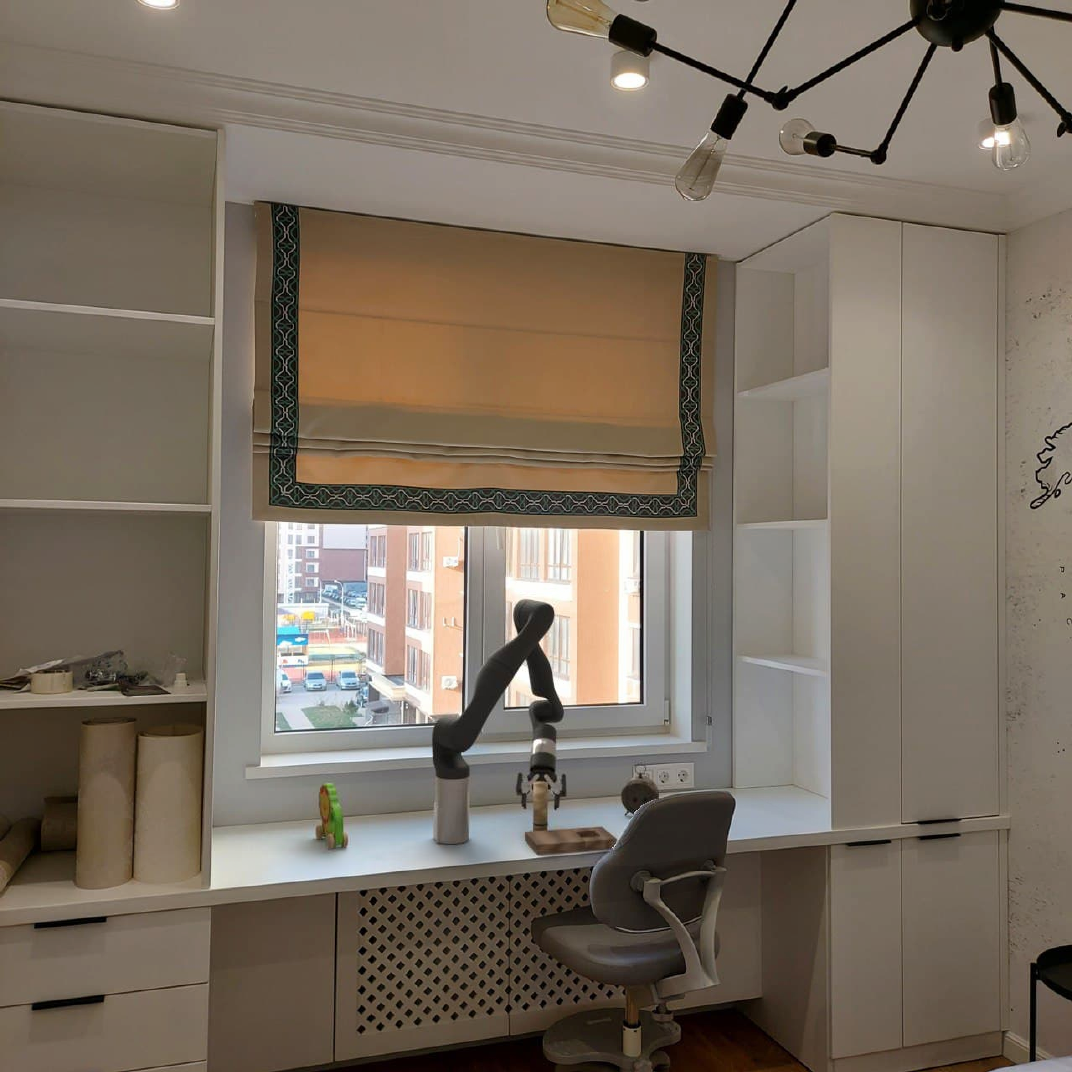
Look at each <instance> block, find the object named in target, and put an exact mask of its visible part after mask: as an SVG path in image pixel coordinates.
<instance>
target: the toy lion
mask: <svg viewBox="0 0 1072 1072" xmlns="http://www.w3.org/2000/svg"><path fill="white" fill-rule="evenodd" d="M338 797H339V796H338V794H337V790H336V788H335V785H334V783H332V782H329V783H323V784H322V785H321V786H320V788H319V791H318V809H319V814H320V817H321V818H320V819H321V824H318V825H316V827H315V838H316V839H317V840H318V839H319V840H323V839H324V838H325V840H326V847H327V849H328V850H333V849H334V848H335V847H339V846H340V847H342V848H347V846H348V844H349V837H348V833H347V832H344V817H343V816H344V815H343V810H342V807H341V805H340V803H339V798H338Z"/></svg>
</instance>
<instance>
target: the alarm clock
mask: <svg viewBox="0 0 1072 1072" xmlns="http://www.w3.org/2000/svg"><path fill="white" fill-rule="evenodd" d="M639 765H642V766H643V767H644V772H638V771H637V770H636V769H637V767H638V766H639ZM634 771H635V773H636V774H637V775H636V776H633V777H630V778H629V779H628V780H627V781H626V782H625V784H624V785H623V787H622V788H621V789H622V790H621V794H620V800H621V803H622V805H623V807H624V808H625V810H626V812H625V813H624V816H625V817H626V816H627V815H628V814H629V813H630V814H632V815H634V812H635V811H636V810H638V809H639V808H640V806H641V805H643V804H645V803H647V802H649V801H651V800H654V799H660V793H659V788H658V786H657V785H656V783H655V782H654V781H653V780H652V779H651V778H649V777H647V776H643V775H644V774H645V772H646V771H647V767H646V765H645V764H643V763H640V762H639V763H637V764H635V766H634Z"/></svg>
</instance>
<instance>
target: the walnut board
mask: <svg viewBox="0 0 1072 1072" xmlns="http://www.w3.org/2000/svg"><path fill="white" fill-rule="evenodd" d="M525 841H526V842H527V843H526V842H525ZM524 842H525V843H526V844H527V845H528V846H529V848H530V849H531V850H532V851H533V852H534V853H535V854H536V855H538V856H539V855H548V854H549V855H550V854H561V853H572V852H573V853H575V852H587V851H601V850H612V849H611V848H612V847H614V845H615V844H616V842H617V843H618V839H617V837H616V836H614V835H613V834H611V832H609V831H608V830H607V829H605V828H604V827H603V826H588V827H576V828H561V829H559V828H558V829H547V830H544V831H533V830H531V831H525V832H524Z"/></svg>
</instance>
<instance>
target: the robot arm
mask: <svg viewBox="0 0 1072 1072" xmlns="http://www.w3.org/2000/svg"><path fill="white" fill-rule="evenodd" d="M512 618H513V619H512V620H513V623H514V628H515V631H516V633H517V635H516V636H515V637H514V638H512V639H511V640H510V641H508V642H507V643H505V644H503V645H502V646H500V647H499V648H498V649H495V650H494V651H493V652H492V653H490V655H489V656H488V657H487V659H486V660H485V661H484V663H483V664H482V665H481V667H480V669H479V670H478V672H477V674H476V676H475V681H474V686H473V687H474V688H473V693H472V698H471V700H470V702H469V704H468V705H467V707H466V708H465V709H464V711H463V712H462V713H461V714H460V716H459V717H458V716H454V715H443V716H441V717H439V718H438V719H437V720H436V722H435V723H434V725H433V728H432V735H431V741H432V742H431V745H432V746H431V747H432V763H433V767H434V770H435V795H434V796H435V801H434V802H433V832H432V833H433V839H434V840H435V842H436V844H444V845H457V844H458V845H459V844H464V843H466V842H468V841H469V840H470V777H471V776H470V765H469V764H468V763H467V761H465V759H464V758H463V754H462V753H466V752H467V751H468V750H470V749H471V748H472V747H473V745H474V743H475V742H476V741H477V738H478V737H479V735H480V733H481V730H482V729H483V727H484V725H485V723H486V722H487V719H488V717H489V716H490V714H491V713H492V712H493V710H494V708H495V706H496V705H497V703H498V702H499V700H500V699H501V697H502V696H503V694H504V693H505V691H506V690H507V688H508V687H509V685H510V684H511V682H513V680H514V678H515V677H516V675H517V673H518V672H519V669H520V668H521V667H522V665H523V664H524V663H525V661H526V666H527V672H528V676H529V683H530V689H531V693H532V695H533V696H535V697H537V698H543V699H539V700H533V701H531V703H530V704H529V706H528V714H529V715H528V716H529V719H530V723H531V727H532V742H531V743H532V744H531V748H530V758H529V772H528V774H523V773H522V772H518V773H517V778H516V779H517V780H516V785H515V794H516V796H520V797H521V798H520V799H521V802H520V803H521V807H522V808H523V810H527V806H528V805H527V803H528V796H529V795H530V794H531V793H533V788H534V782H537V781H544V782H547V783H548V790H549V792H550V793H551V794H553V796H554V798H553V799H554V802H553V810H554V811H557V809H559V808H560V802H561V801H560V799H561V798H566V797H567V775H566V774H565V773H563V774H561V775H557V774H556V771H557V768H556V767H557V735H558V734H557V729H556V727H555V726H554V725H551V724H556V723H560V722H561V721H562V720H563V719H564V715H565V710H564V705H563V704H562V701H561V700H560V697H559V695H558V693H557V690H556V688H555V681H554V675H553V670H552V665H551V663H550V660H549V658H548V657H547V655H546V653H545V651H544V650H543V648H542V646H541V644H540V642H541V640H542V639H543V638H544V637H545V636H546V634H547V633H548V631H550V629H551V627H552V625H553V623H554V619H555V609H554V607H553V606H552V604H550V603H547V602H544V601H541V600H535V599H529V598H522V599H520V600H519V601H518V602H516V604H515V605H514V607H513V612H512ZM526 781H527V782H528V783H526V786H525V787H524V788H523V789H522V785H523V784H524V783H525V782H526ZM557 781H558V783H559V784H560V785H561V790H559V789H558V787H557V786H556V783H557ZM463 842H464V843H463Z"/></svg>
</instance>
